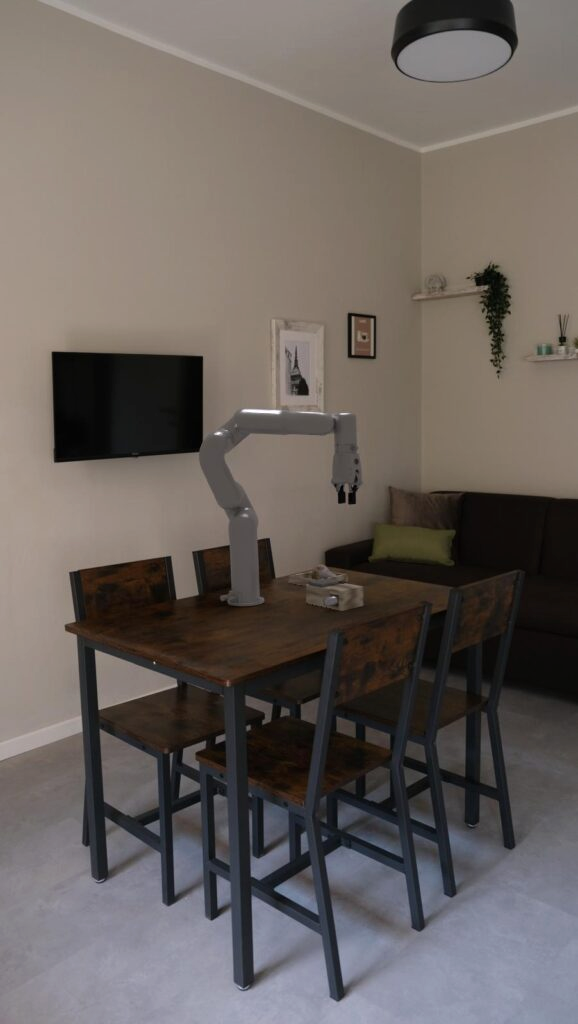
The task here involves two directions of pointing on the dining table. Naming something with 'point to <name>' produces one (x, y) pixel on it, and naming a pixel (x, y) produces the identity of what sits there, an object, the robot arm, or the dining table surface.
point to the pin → (331, 601)
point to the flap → (324, 582)
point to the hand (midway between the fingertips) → (347, 503)
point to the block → (347, 595)
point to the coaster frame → (306, 577)
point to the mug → (321, 572)
